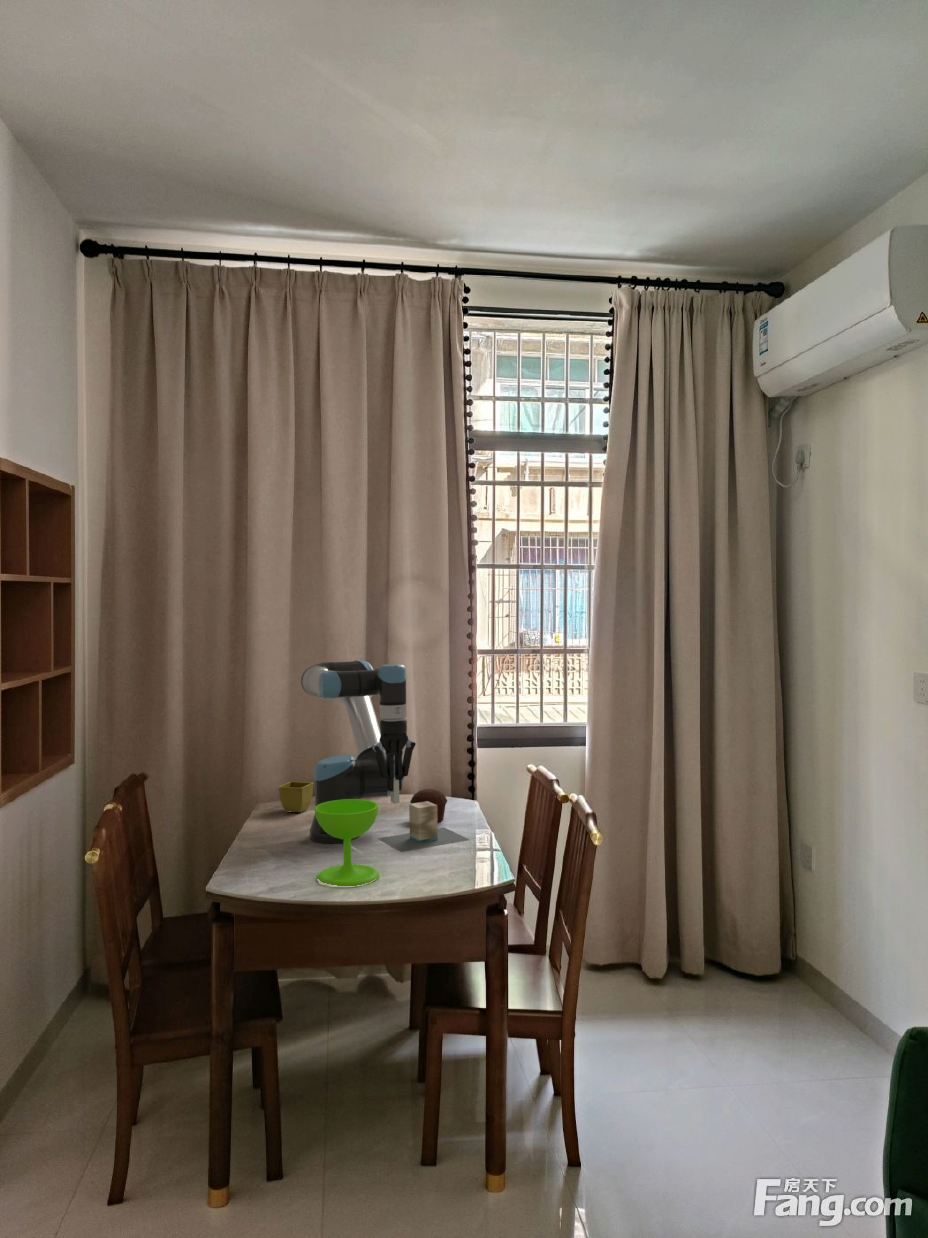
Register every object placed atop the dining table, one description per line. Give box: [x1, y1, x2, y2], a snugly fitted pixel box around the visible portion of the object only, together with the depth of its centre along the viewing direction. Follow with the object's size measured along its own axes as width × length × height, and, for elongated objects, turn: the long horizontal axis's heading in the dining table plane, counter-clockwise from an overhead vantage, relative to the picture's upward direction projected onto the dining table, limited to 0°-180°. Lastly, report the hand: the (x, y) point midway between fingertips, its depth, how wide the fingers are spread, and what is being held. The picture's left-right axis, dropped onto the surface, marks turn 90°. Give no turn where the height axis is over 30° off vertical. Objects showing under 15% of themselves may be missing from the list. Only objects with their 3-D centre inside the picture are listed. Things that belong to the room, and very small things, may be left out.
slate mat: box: [377, 827, 471, 853], centre depth 249 cm, size 22×16×1 cm
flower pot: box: [277, 781, 314, 813], centre depth 286 cm, size 9×9×9 cm
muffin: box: [409, 788, 448, 824], centre depth 270 cm, size 12×11×10 cm
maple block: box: [408, 801, 439, 843], centre depth 249 cm, size 6×6×10 cm
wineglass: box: [314, 799, 380, 886], centre depth 217 cm, size 16×16×18 cm
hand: (394, 802), depth 244 cm, fingers closed
